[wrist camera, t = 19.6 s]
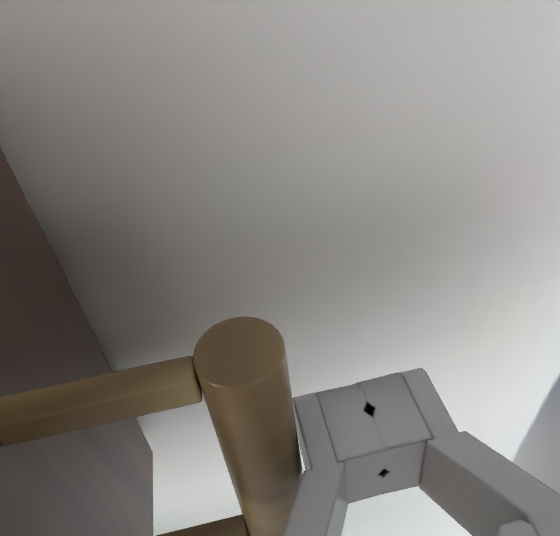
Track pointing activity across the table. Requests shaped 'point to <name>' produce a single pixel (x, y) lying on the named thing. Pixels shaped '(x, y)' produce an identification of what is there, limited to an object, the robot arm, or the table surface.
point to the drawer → (123, 407)
